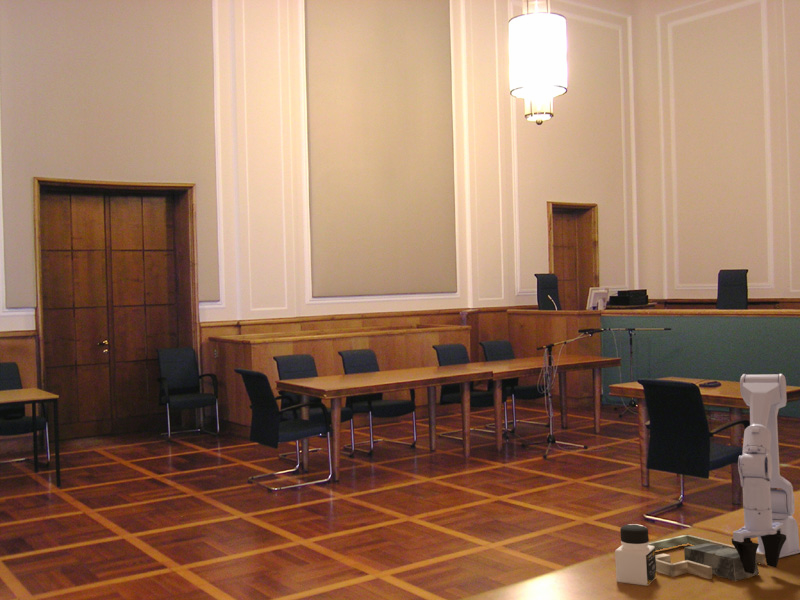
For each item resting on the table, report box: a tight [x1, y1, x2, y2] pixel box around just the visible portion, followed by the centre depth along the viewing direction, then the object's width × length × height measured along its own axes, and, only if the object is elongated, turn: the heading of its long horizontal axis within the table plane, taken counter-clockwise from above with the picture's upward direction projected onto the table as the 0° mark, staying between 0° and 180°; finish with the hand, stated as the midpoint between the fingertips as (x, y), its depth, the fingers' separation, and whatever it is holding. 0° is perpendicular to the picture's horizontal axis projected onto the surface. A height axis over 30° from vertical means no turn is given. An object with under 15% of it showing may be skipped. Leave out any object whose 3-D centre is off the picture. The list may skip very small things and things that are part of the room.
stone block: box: [683, 543, 760, 582], centre depth 189 cm, size 9×14×5 cm, turn 27°
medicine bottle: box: [614, 523, 657, 587], centre depth 184 cm, size 7×7×12 cm
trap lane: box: [649, 534, 766, 580], centre depth 196 cm, size 24×23×2 cm
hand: (760, 569), depth 182 cm, fingers open, 7 cm apart
